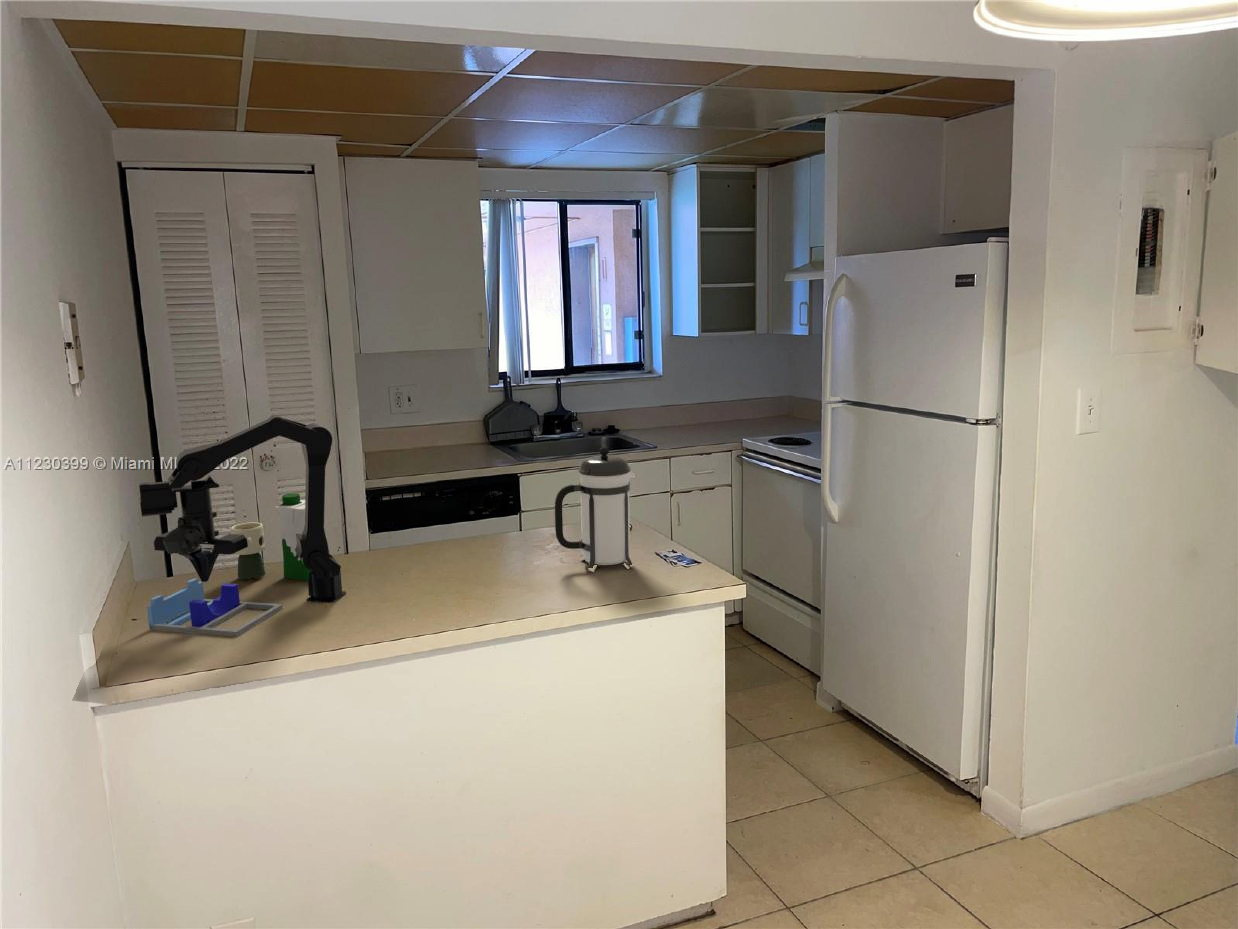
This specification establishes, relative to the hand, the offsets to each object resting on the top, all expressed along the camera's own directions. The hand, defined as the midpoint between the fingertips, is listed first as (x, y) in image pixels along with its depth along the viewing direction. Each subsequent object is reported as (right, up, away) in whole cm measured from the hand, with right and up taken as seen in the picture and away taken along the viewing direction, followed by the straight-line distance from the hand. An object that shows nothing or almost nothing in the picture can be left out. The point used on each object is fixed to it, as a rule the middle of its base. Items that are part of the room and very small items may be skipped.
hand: (205, 581), depth 188 cm
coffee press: (+83, -1, +34) cm, 90 cm away
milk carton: (+11, -3, +29) cm, 31 cm away
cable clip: (+1, -9, +2) cm, 9 cm away
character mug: (-2, -3, +28) cm, 28 cm away
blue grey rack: (+2, -8, +1) cm, 8 cm away
